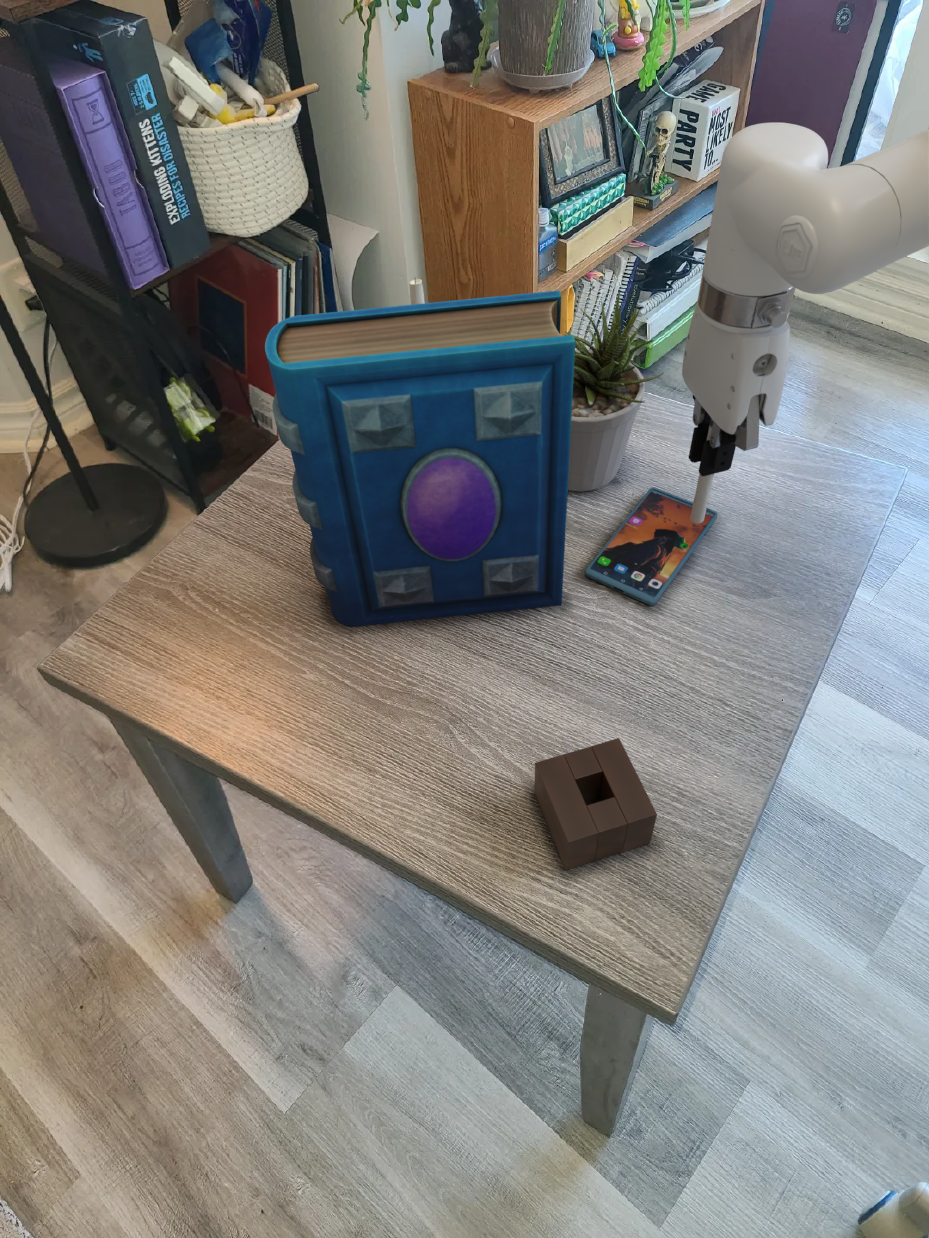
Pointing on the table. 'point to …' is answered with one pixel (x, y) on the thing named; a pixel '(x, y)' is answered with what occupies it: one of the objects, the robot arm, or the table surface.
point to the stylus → (702, 492)
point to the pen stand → (600, 825)
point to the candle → (416, 292)
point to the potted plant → (603, 403)
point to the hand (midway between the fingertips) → (709, 463)
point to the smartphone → (650, 546)
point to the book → (430, 453)
